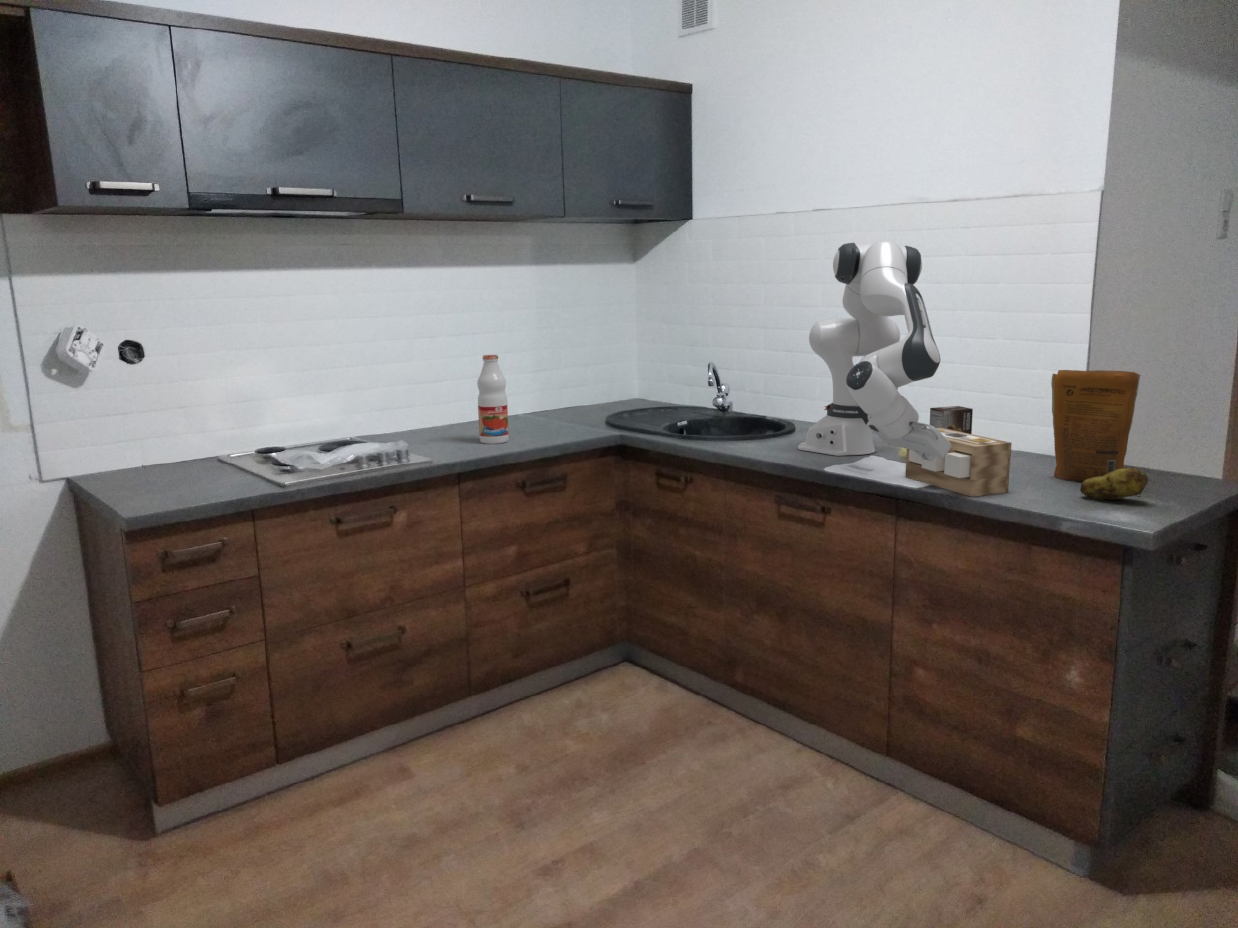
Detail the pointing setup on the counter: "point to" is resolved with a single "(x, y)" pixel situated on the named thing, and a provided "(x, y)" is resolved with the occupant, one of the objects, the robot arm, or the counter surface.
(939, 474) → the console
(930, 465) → the button middle
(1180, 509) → the counter surface
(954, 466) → the button
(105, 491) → the counter surface
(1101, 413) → the pancake mix bag
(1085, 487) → the potato
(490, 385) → the fruit juice
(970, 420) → the coffee box
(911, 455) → the button
